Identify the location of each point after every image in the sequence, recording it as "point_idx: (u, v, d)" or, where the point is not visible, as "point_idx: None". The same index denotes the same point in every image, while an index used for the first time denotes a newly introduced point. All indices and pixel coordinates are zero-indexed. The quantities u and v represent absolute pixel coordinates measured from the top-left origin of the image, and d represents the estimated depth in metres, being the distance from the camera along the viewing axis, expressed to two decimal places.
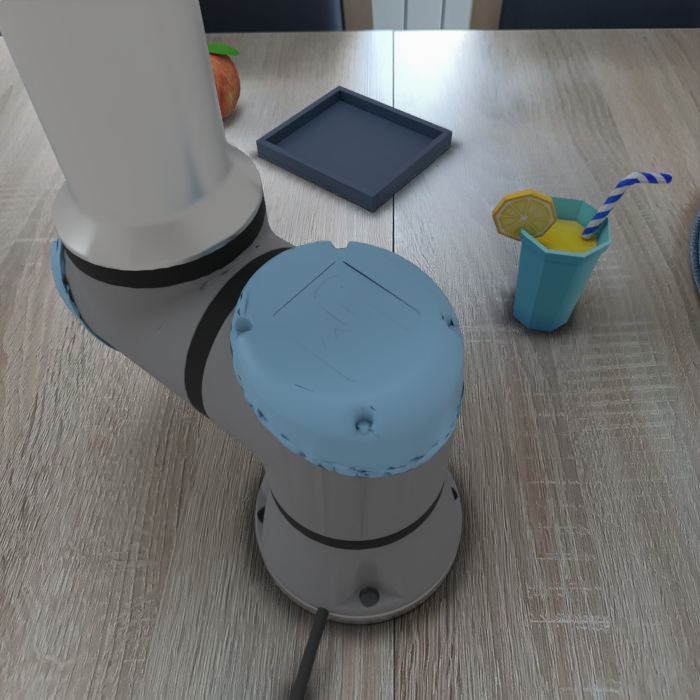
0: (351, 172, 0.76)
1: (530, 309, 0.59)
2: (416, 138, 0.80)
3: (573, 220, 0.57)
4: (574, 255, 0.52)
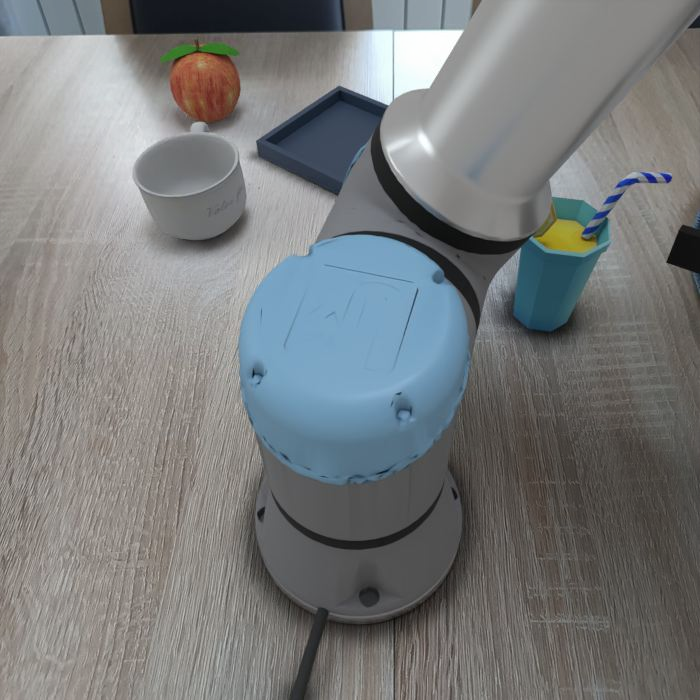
0: None
1: (530, 309, 0.59)
2: None
3: (573, 220, 0.57)
4: (574, 255, 0.52)
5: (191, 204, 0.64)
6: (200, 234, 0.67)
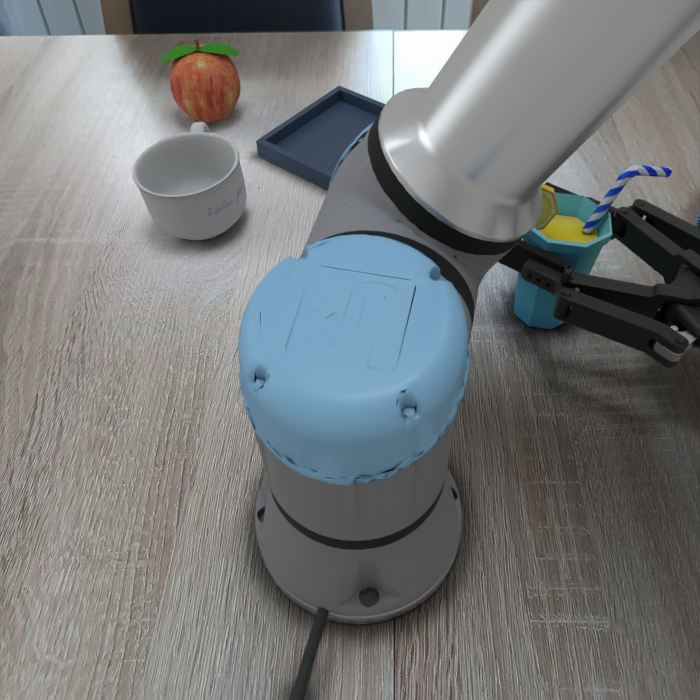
0: None
1: (531, 305, 0.59)
2: None
3: (574, 217, 0.58)
4: (576, 245, 0.52)
5: (191, 204, 0.64)
6: (200, 234, 0.67)
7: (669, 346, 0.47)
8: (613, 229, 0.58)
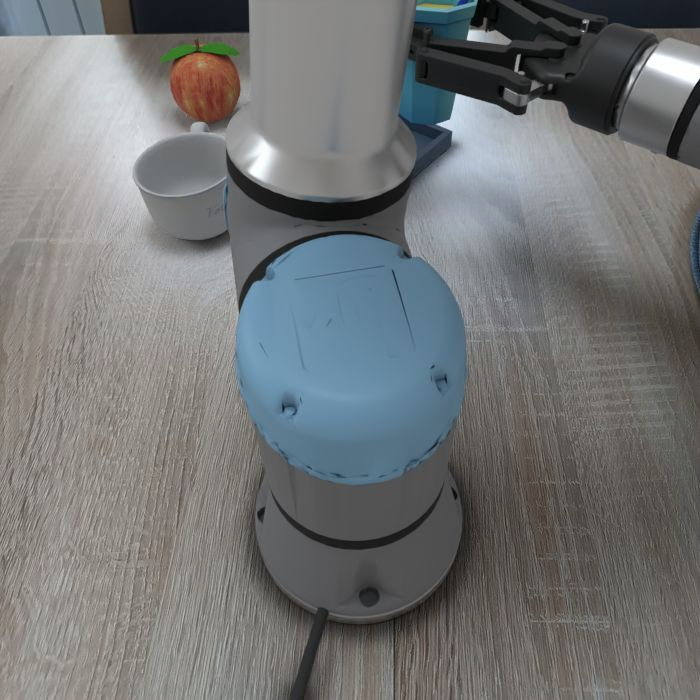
0: None
1: (410, 96, 0.60)
2: (416, 138, 0.80)
3: (450, 5, 0.59)
4: (438, 11, 0.53)
5: (191, 204, 0.64)
6: (200, 234, 0.67)
7: (514, 87, 0.49)
8: (488, 17, 0.59)
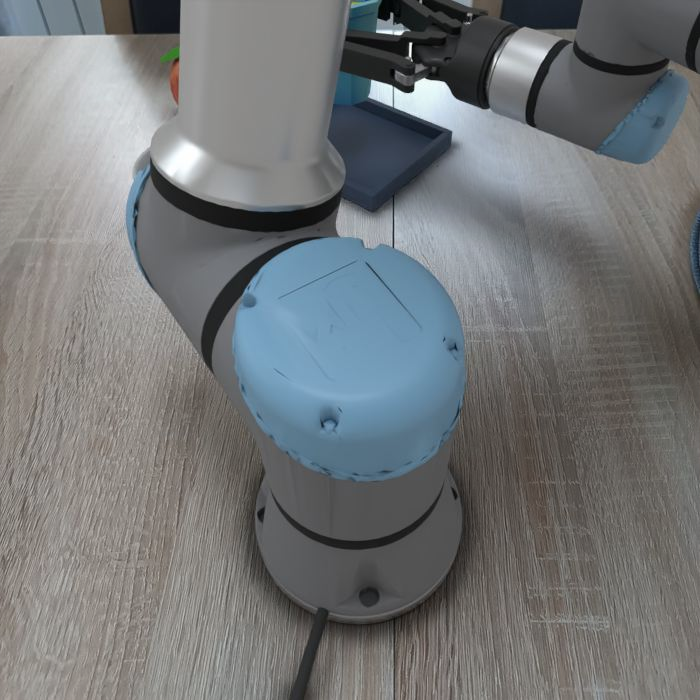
0: (351, 172, 0.76)
1: None
2: (416, 138, 0.80)
3: (361, 2, 0.69)
4: None
5: None
6: None
7: (401, 70, 0.59)
8: (393, 12, 0.69)
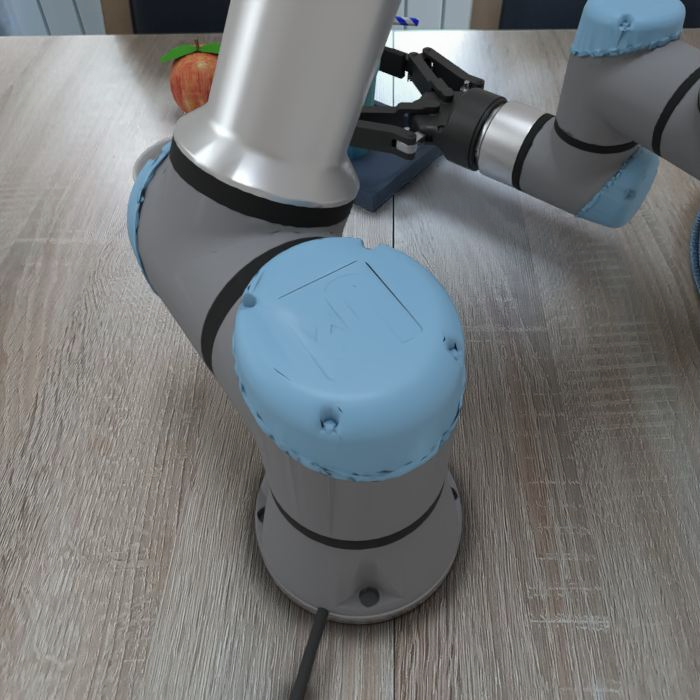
0: None
1: None
2: None
3: None
4: None
5: None
6: None
7: (404, 140, 0.64)
8: (407, 70, 0.75)
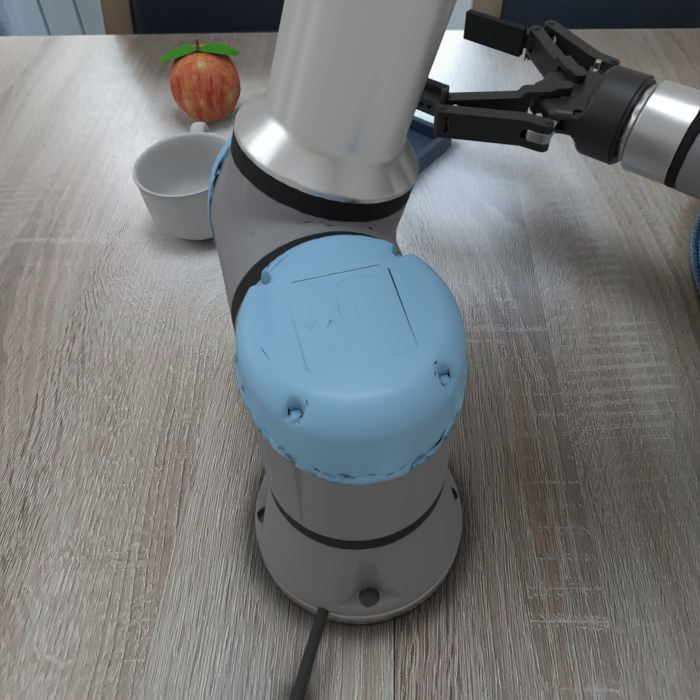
0: None
1: None
2: (416, 138, 0.80)
3: None
4: None
5: (191, 204, 0.64)
6: (200, 234, 0.67)
7: (539, 129, 0.53)
8: (526, 46, 0.65)
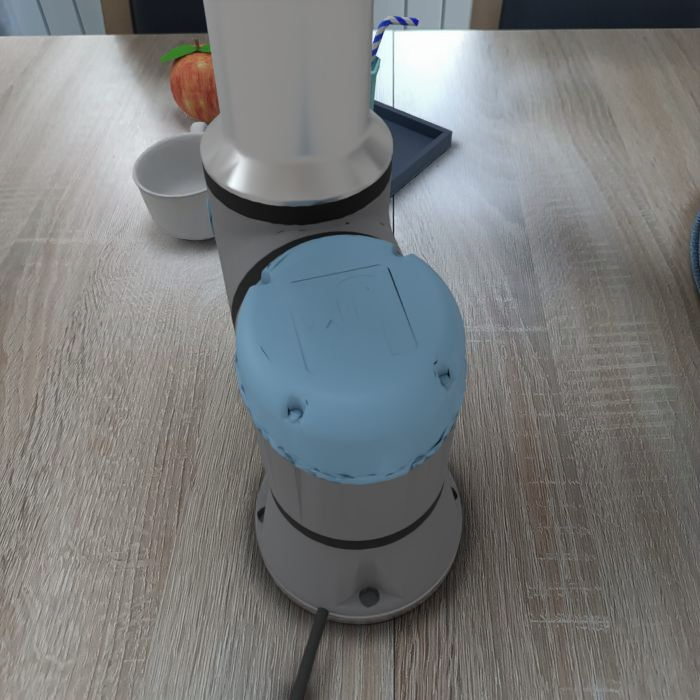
0: None
1: None
2: (416, 138, 0.80)
3: None
4: None
5: (191, 204, 0.64)
6: (200, 234, 0.67)
7: None
8: None
